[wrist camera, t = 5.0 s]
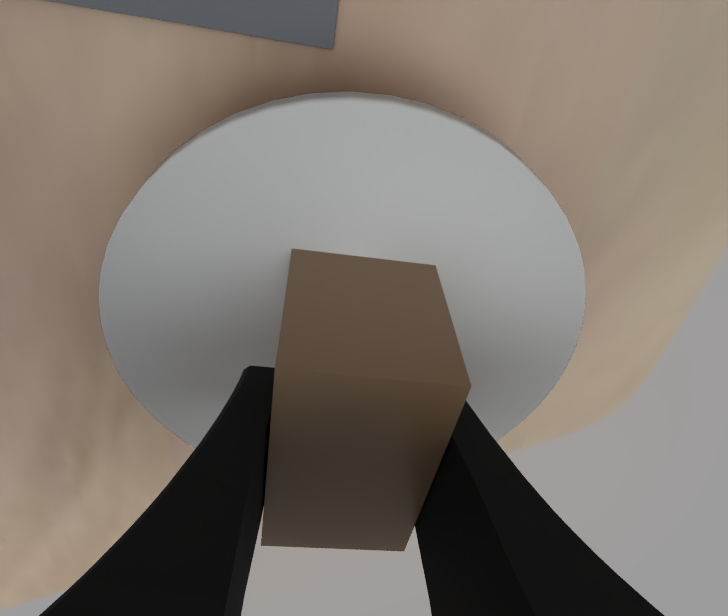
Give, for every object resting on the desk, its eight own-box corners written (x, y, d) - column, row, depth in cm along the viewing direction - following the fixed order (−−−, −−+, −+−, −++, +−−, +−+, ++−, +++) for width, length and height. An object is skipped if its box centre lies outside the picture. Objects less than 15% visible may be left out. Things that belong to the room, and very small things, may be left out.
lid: (138, 450, 15) (78, 605, 11) (70, 42, 8) (-112, 119, 5) (490, 472, 16) (530, 616, 13) (661, 138, 10) (834, 249, 6)
